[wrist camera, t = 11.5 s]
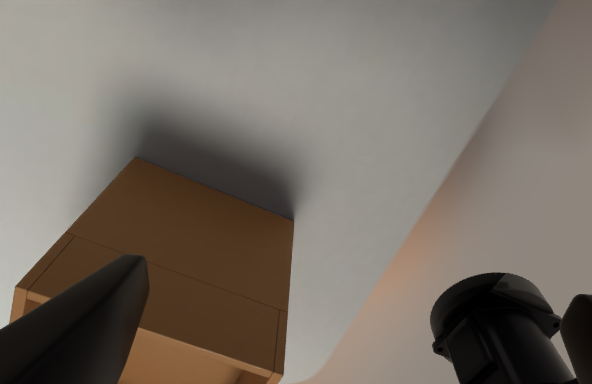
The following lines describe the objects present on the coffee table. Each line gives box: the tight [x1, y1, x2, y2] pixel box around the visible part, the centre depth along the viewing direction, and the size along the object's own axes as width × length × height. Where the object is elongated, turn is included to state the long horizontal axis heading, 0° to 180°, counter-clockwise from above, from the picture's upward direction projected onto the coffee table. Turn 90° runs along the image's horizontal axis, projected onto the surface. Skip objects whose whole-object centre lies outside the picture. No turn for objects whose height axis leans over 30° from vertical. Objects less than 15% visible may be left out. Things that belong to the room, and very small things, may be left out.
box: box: [9, 157, 294, 384], centre depth 20 cm, size 9×9×10 cm
